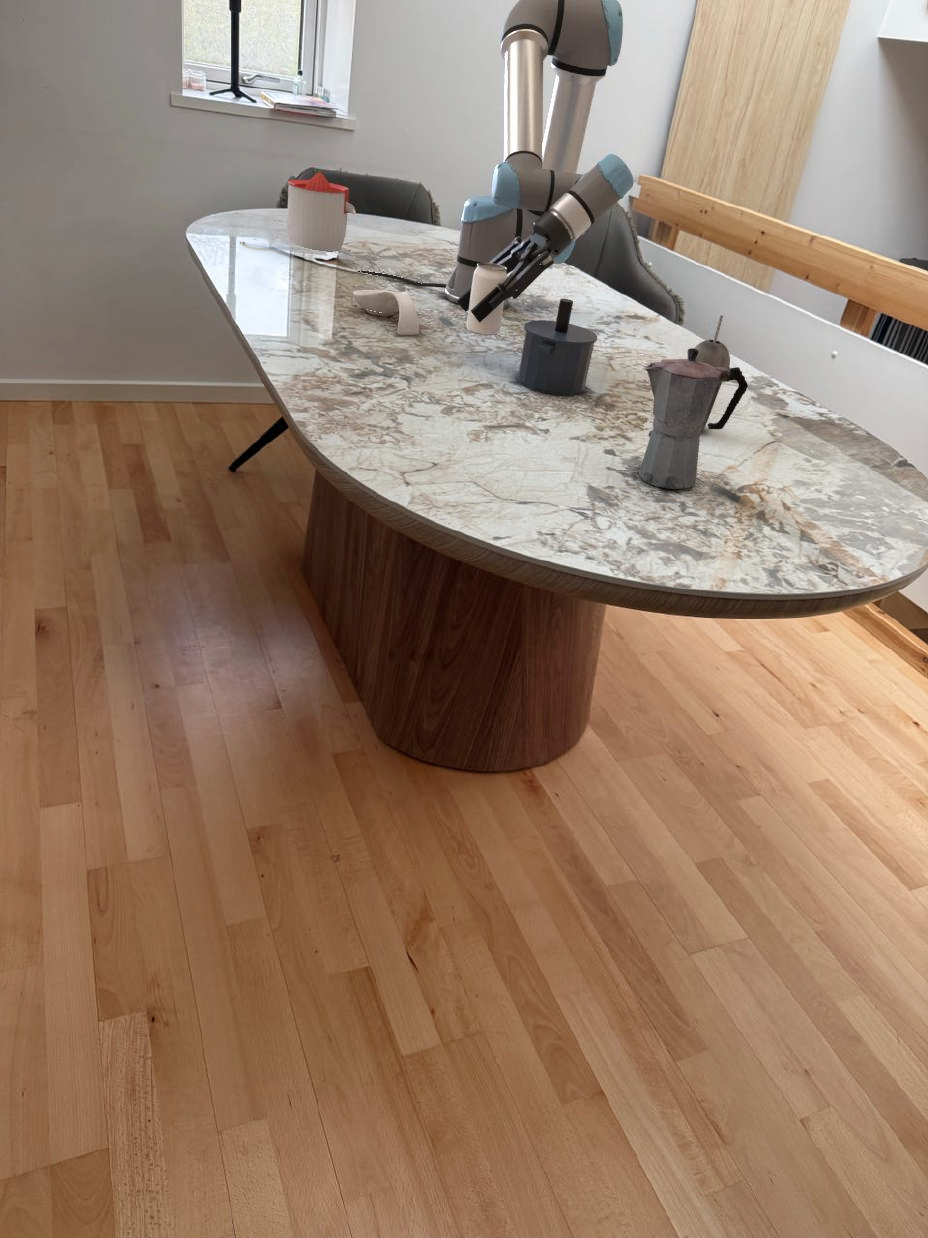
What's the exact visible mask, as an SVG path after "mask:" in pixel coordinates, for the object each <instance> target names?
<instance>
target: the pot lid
mask: <svg viewBox="0 0 928 1238" xmlns="http://www.w3.org/2000/svg"><path fill="white" fill-rule="evenodd" d="M573 306H574V301H573V300H572V299H569V298H560V299H559V303H558V309H557V313H556V319H555V320H546V319H545V320H544V319H543V320H542V319H541V320H540V319H539V320H537V319H536V320H530V321H528V322H525V324H524V325H523V329H524V331H525V333H526V332H528V333H529V334H531V335H533V336H535V337H538V338H541V339H544V340H548V341H552V342H556V343H562V344H571V345H588V344H592V343H594V344H595V343H596V342H597V341H598V335H597V334H596V333H595V332H593V331H592V330H589V329H587V328H585V327H583V326H579V325H576V324H573V323H570V321H571V316H572V310H573Z"/></svg>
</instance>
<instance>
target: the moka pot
mask: <svg viewBox="0 0 928 1238" xmlns="http://www.w3.org/2000/svg"><path fill="white" fill-rule="evenodd" d="M694 348H695V347H694ZM694 348H692V347H691V348H688V349H687V358H670V359H669V358H668V359H666V358H665V359H661V360H660V361H656V362H650V364H648V365H646V366H645V367H644V368H643V370H644V371H646V372H647V377H648V380H649V383H650V388H651V392H652V395H653V403H652V404H653V406H652V407H653V408H652V415H653V423H652V430H650V431H649V432H648V433H647V434H648V435H647V436H648V437H649V440H648V441H647V446H646V449H645V452H644V456H643V458H642V461H641V464H640V468H639V470H638V476H639V478H640V479H641V480H642V481H643V482H646V483H647V484H649V485H651V486H653V487H658V488H661V489H668V490H686V489H689V488H692V487H693V486H695V485H696V482H697V475H698V474H697V473H698V460H699V451H700V450H699V449H700V441H701V440H700V439H701V433H702V432H701V431H702V427H703V423H704V421H705V419H706V416H707V414H708V410H709V408H710V405H711V402H712V399H713V396H714V393H715V391H716V388H717V385H718V383H719V382H720V381H723V382H725V383H727V382H730V381H735V382H737V385H738V387H737V388H736V389H735V391H734V393H733V396H732V397H731V399H730V401H729V403H728V405H727V406H726V409H725V410H724V413H723V414H722V416H721V417H720V419H719V420H718V421H717V422H709V423H707V429H708V430H723V429H724V427H725V426H726V425H727V423H728V421H729V420H730V418H731V416H732V414H733V413H734V411H735V409H736V407H737V406H738V405H739V403H740V401H741V399H742V398H743V395H744V394H746V392H747V389H748V388H749V384H748V382H747V380H746V377H745V375H743V371H742V370H741V368H740V367H739V366H738V367H730V368H729V369H728V368H724V367H717V368H715V367H713V366H711V365H709V364H706V363H703V362H699V361H696V357H697V355H698V352H699V351H698V350H696V349H694Z"/></svg>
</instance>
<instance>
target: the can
mask: <svg viewBox="0 0 928 1238" xmlns="http://www.w3.org/2000/svg"><path fill="white" fill-rule="evenodd" d="M506 270H507V268H506V267H504V266H502V265H498V264H493V263H478V264H477V268H476V270H475V271H474V275H473V281H472V289H471V296H470V303H469V310H467V318H466V328H467V331H468V332H471V333H473V334H476V335H481V336H497V335H498V334H499V333H500V330H501V324H502V319H503V313H504V312H503V311H504V308H503V306H504V301H503V302H502V303H501V304H500V305H498V306H497V307H496V308H495V309H494V310H493V311H492V312H491V313H490V314H489V315H488V316H487V317H485V318H484V319H483V320H482V321H481V322H478V320H477V319H476V318H475V316H474V315H473V314H472V312H471V310H472V309H473V308H474V307H475V306H476V305H477V304H478V303H479V302H480V301H481V300H483V299H484V298H485V297H486V296H487V295H488V294H489V293H490V292H491V291H492V290H493V289H494V288H496V287H498V288H499V286H498V283H504V281H505V280H506V279H507V278H508V276H509V275H508V274H507V273H506ZM499 289H500V288H499ZM500 290H501V289H500Z"/></svg>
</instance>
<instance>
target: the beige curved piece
mask: <svg viewBox="0 0 928 1238" xmlns="http://www.w3.org/2000/svg"><path fill="white" fill-rule="evenodd" d="M352 295H353V298H354V301H355V302H356V303H357V304H358V305H359V307H361V308H362V307H363V308H362V309H363V310H364V311H365V312H366V313H368V314H370V315H373V316H380V317H389V316H393V315H394V314H395V313H397V312H398V313H399V314H398V321H397V322H398V323H397V331H396V333H397V335H404V336H405V335H407V336H409V335H411V336H412V335H413V336H414V335H419V334H420V323H419V318H418V313H417V310H416V309H417V308H416V306H415V304H414V301H413V299H412V297H411V295H410V293H409V292H408V291H402V292H396V291H392V290H385V289H384V290H383V289H358V290H354V291H353V292H352ZM364 308H365V309H364ZM367 309H368V310H367ZM370 310H372V311H370ZM374 311H376V312H374ZM379 312H382V313H379ZM394 312H395V313H394Z"/></svg>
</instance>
